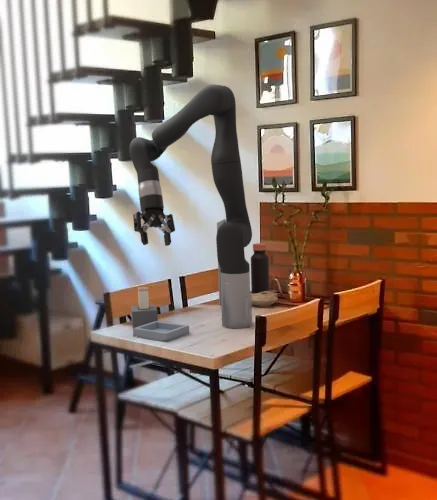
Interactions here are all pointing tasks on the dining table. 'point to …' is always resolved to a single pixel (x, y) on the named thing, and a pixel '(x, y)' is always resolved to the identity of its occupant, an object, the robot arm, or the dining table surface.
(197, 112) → the robot arm
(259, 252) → the bottle
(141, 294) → the block
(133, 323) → the panel
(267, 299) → the pottery oil lamp
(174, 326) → the tray
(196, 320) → the dining table surface
